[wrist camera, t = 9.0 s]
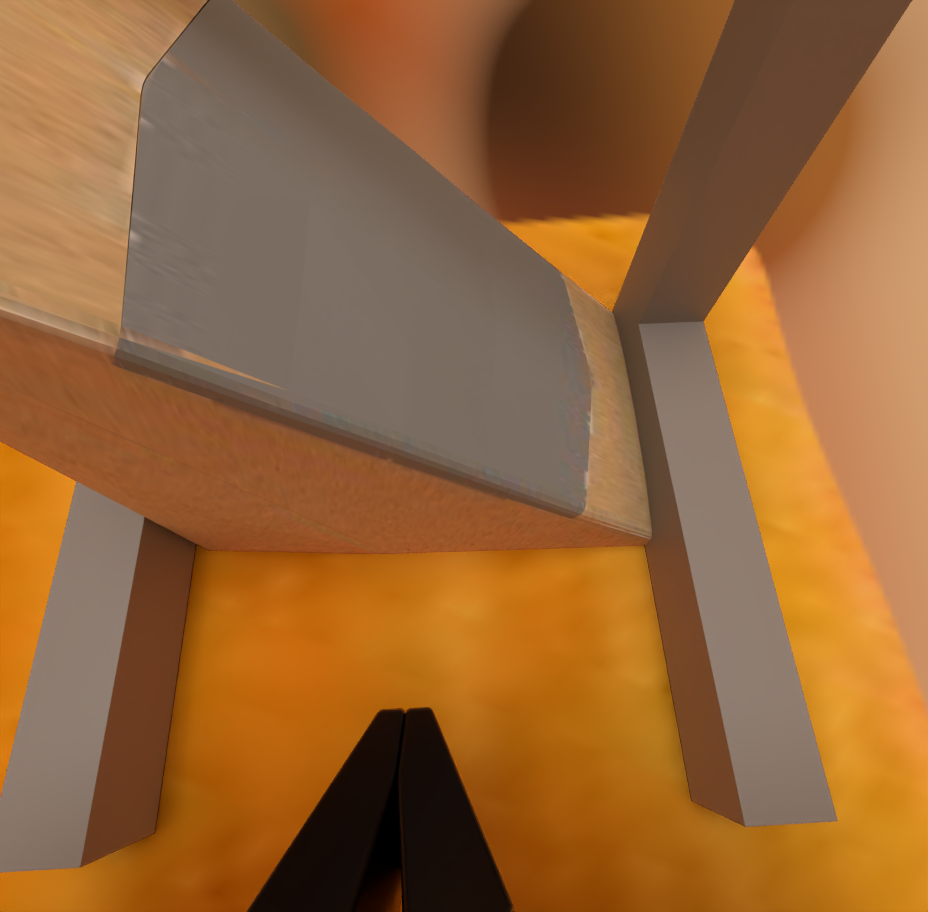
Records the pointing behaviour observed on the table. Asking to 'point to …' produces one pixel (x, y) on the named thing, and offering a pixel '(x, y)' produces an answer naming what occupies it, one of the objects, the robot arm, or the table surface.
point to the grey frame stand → (667, 479)
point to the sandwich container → (282, 306)
